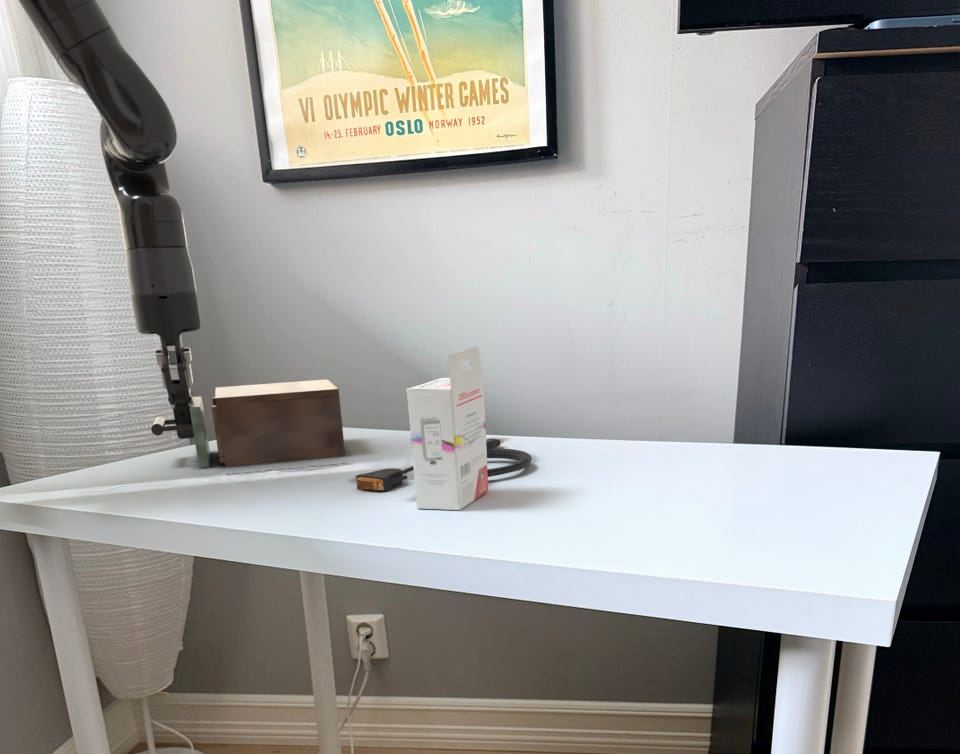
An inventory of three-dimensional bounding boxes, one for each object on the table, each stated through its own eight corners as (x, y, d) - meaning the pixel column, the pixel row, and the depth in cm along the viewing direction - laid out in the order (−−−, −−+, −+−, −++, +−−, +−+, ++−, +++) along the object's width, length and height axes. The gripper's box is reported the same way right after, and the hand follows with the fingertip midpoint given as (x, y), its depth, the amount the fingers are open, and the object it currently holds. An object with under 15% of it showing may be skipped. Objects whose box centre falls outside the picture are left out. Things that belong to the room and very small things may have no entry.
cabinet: (226, 474, 113) (215, 398, 109) (225, 457, 124) (215, 387, 121) (346, 463, 116) (338, 388, 113) (334, 447, 127) (327, 379, 124)
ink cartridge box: (446, 490, 99) (437, 346, 94) (489, 491, 97) (483, 345, 92) (413, 509, 92) (401, 354, 86) (460, 511, 90) (451, 353, 84)
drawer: (157, 472, 111) (146, 410, 108) (162, 456, 121) (152, 399, 119) (311, 458, 115) (304, 398, 113) (303, 444, 126) (297, 389, 123)
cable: (583, 452, 116) (583, 439, 115) (453, 501, 94) (452, 486, 94) (492, 445, 123) (491, 434, 122) (352, 489, 101) (350, 476, 101)
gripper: (134, 291, 115) (159, 432, 121) (125, 292, 103) (152, 448, 109) (197, 288, 117) (217, 427, 123) (195, 288, 105) (218, 443, 111)
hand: (187, 437), depth 116 cm, fingers closed
